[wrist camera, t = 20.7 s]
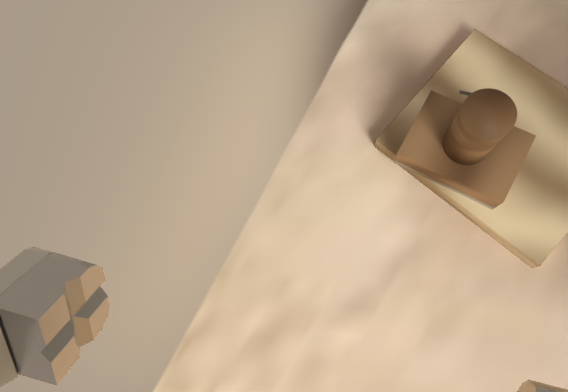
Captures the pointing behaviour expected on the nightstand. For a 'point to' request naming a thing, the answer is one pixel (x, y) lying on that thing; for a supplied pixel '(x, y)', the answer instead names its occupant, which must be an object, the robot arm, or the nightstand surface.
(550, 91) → the board
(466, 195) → the wooden stamp
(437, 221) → the nightstand surface
